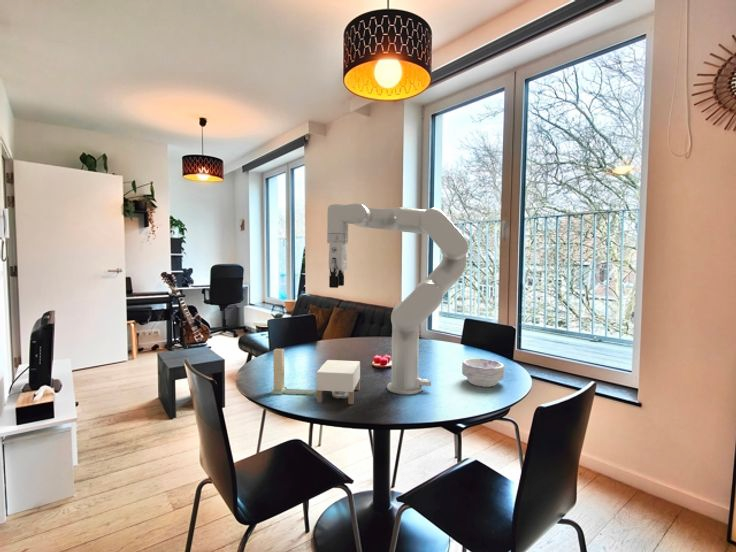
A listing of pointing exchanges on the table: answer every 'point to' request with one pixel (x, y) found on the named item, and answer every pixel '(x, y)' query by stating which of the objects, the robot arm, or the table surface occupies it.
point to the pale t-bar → (279, 377)
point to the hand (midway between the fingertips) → (336, 286)
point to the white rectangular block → (339, 378)
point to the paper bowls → (483, 371)
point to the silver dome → (339, 394)
